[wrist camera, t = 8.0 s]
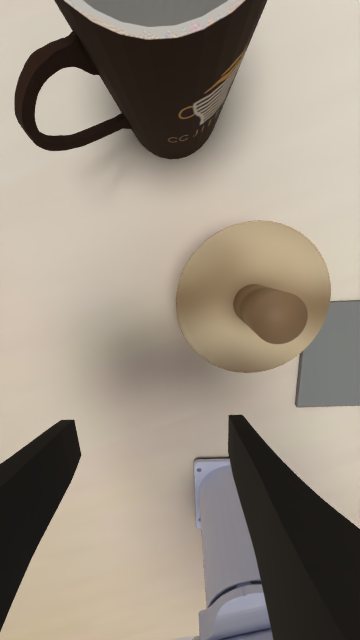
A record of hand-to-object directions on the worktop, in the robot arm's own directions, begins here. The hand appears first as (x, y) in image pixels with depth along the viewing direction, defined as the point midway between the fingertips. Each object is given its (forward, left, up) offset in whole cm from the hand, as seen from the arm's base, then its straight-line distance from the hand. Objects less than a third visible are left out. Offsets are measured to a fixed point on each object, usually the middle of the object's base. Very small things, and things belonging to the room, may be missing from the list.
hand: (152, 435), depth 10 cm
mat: (-1, -17, -10) cm, 20 cm away
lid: (+5, -6, -6) cm, 10 cm away
